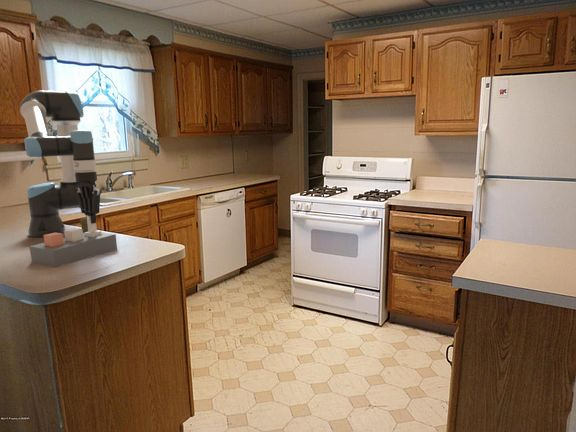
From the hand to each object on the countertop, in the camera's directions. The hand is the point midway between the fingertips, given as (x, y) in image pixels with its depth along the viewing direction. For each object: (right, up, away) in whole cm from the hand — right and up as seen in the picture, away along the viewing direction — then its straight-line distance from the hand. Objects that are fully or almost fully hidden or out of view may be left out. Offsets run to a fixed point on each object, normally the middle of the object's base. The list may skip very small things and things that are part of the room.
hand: (92, 231), depth 169 cm
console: (-4, -9, -5) cm, 11 cm away
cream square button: (0, -4, +1) cm, 4 cm away
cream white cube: (-4, -3, -6) cm, 8 cm away
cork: (-8, -5, +14) cm, 17 cm away
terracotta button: (-8, -5, -13) cm, 16 cm away
